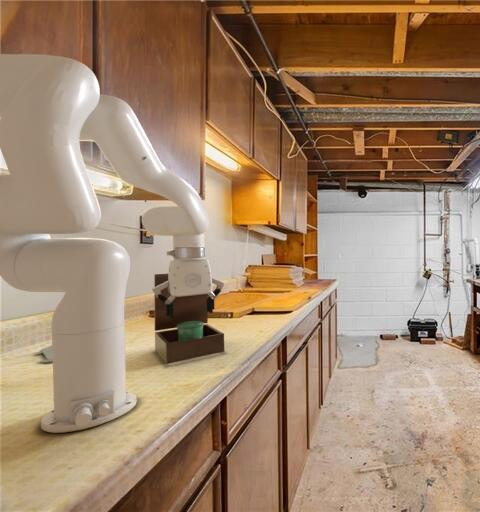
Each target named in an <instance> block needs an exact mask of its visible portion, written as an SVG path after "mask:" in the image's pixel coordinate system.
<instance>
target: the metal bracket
mask: <svg viewBox="0 0 480 512" xmlns="http://www.w3.org/2000/svg"><path fill="white" fill-rule="evenodd" d="M41 354H42V355H43V357H44V358H45V359H42V360H40V363H42V364H43V363H50V362H53V357H52V344H51V345H49V346H46V347H43V348H41V349H40V350H39V351H38V352H37V353H35V355H36V356H38V355H41Z"/></svg>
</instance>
